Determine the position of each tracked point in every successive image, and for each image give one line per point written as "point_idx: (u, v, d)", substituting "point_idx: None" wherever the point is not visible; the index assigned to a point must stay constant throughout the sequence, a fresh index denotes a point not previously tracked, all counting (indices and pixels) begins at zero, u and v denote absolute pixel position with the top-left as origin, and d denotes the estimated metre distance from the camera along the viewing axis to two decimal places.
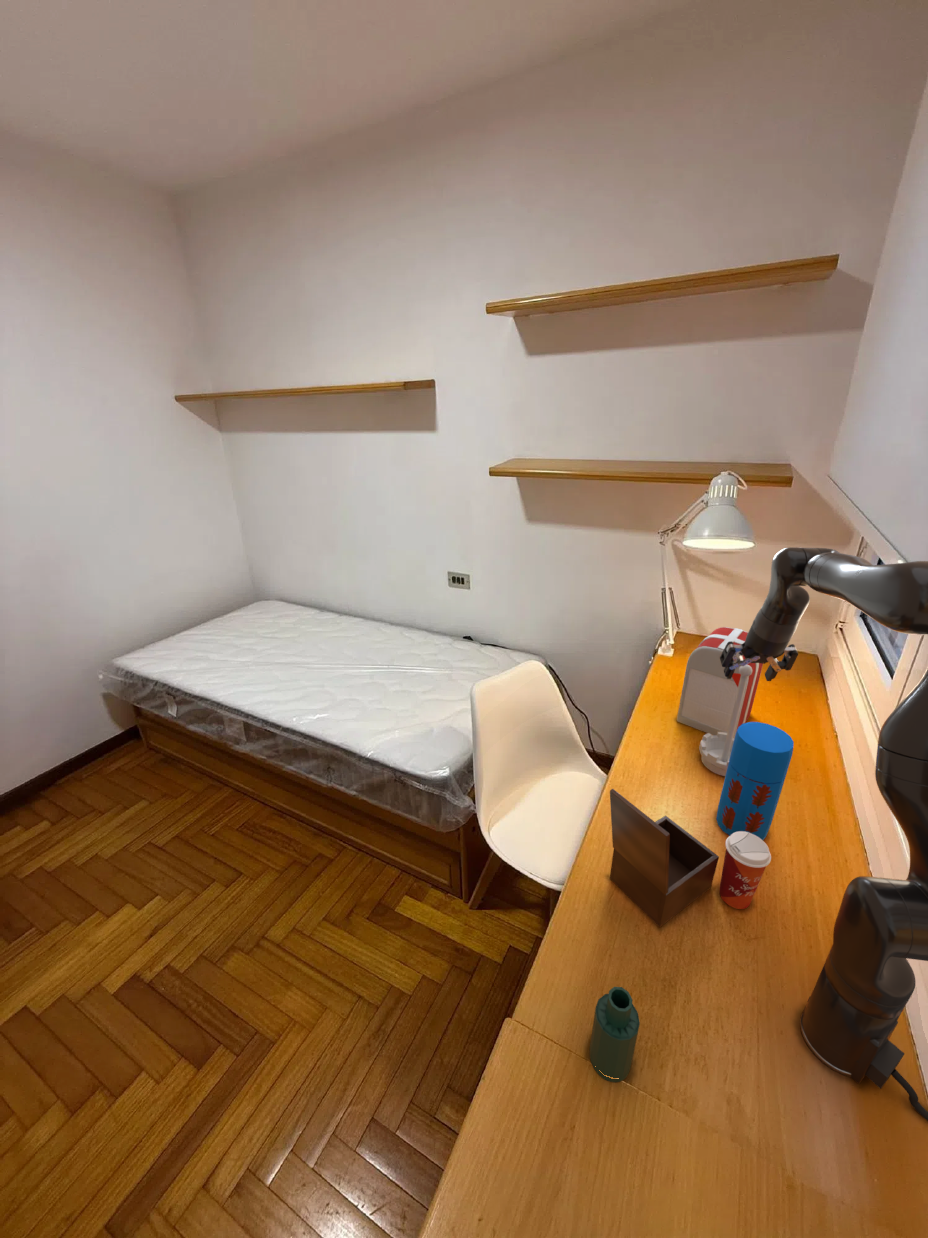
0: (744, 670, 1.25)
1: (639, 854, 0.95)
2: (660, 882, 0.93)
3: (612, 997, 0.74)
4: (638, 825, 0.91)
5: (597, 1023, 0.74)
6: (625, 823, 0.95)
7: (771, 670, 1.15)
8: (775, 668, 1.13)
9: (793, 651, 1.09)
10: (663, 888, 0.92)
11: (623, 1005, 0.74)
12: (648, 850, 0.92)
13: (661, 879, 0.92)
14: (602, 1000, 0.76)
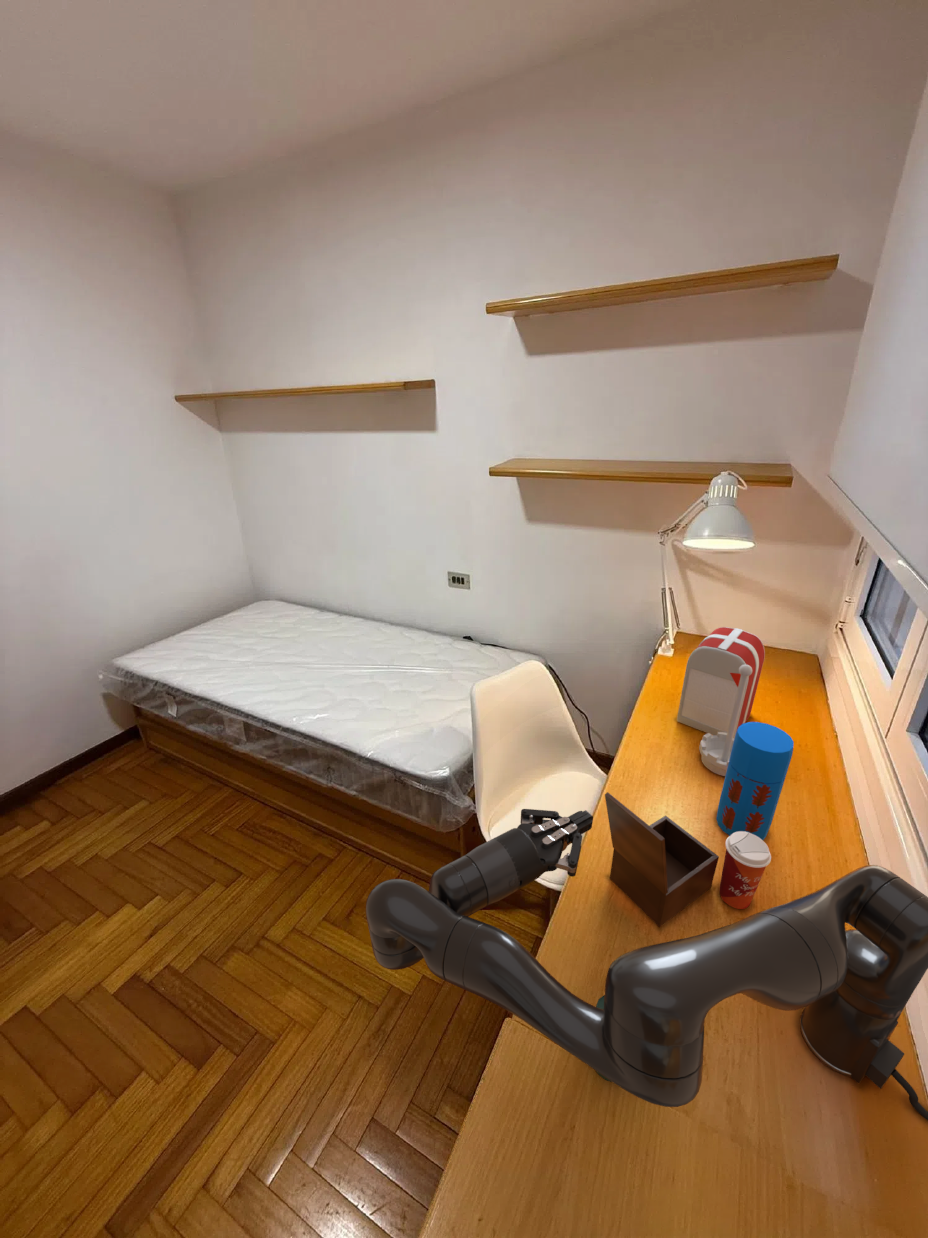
0: (744, 670, 1.25)
1: (637, 855, 0.95)
2: (659, 883, 0.92)
3: None
4: (634, 828, 0.91)
5: None
6: (622, 826, 0.94)
7: None
8: None
9: (568, 873, 0.74)
10: (663, 889, 0.92)
11: None
12: (645, 852, 0.91)
13: (660, 880, 0.92)
14: (602, 1000, 0.76)
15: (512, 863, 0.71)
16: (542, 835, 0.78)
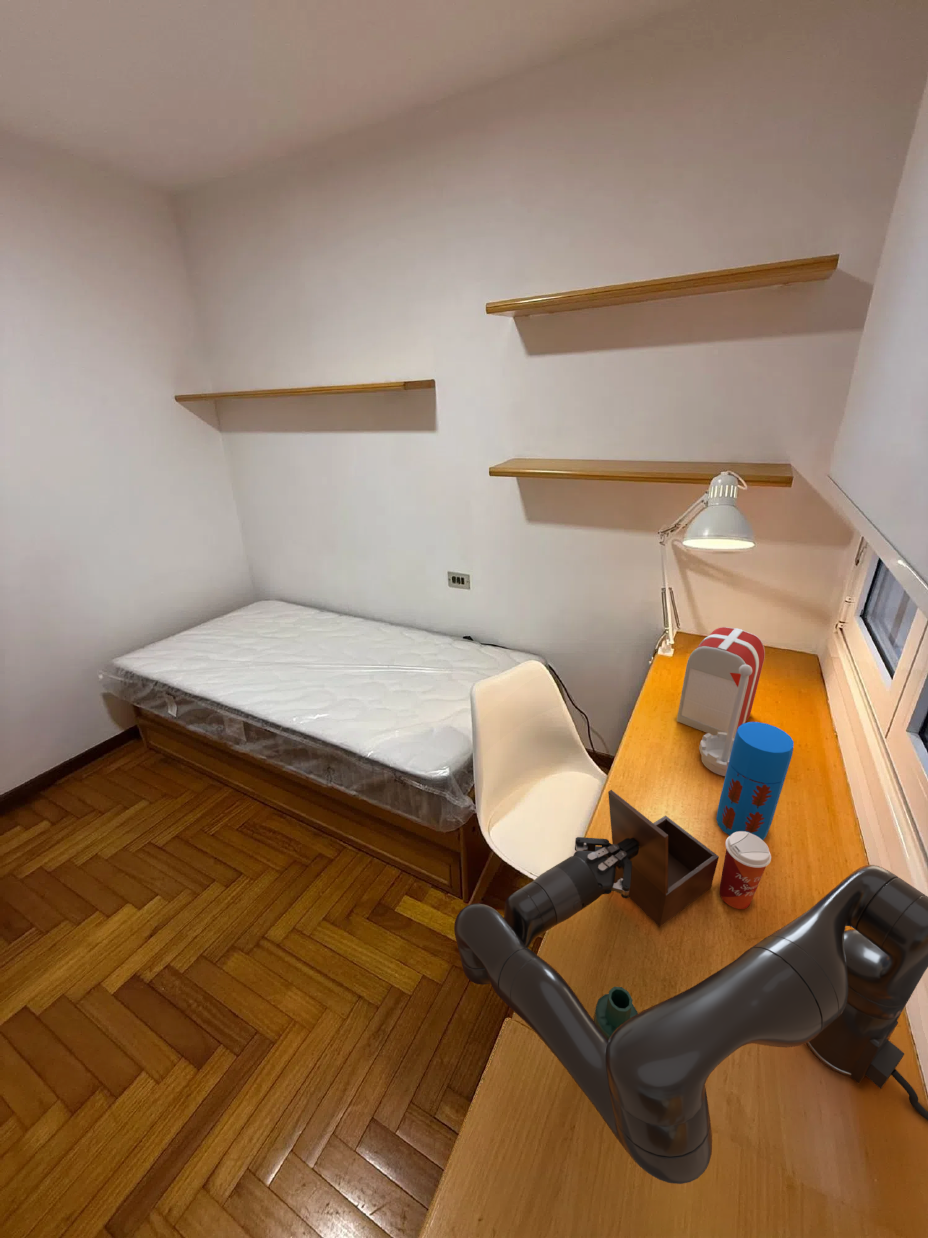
0: (744, 670, 1.25)
1: (639, 854, 0.95)
2: (660, 882, 0.92)
3: (612, 997, 0.74)
4: (637, 826, 0.91)
5: (597, 1023, 0.74)
6: (624, 824, 0.94)
7: None
8: None
9: (622, 895, 0.85)
10: (663, 888, 0.92)
11: (623, 1005, 0.74)
12: (647, 851, 0.91)
13: (660, 880, 0.92)
14: (602, 1000, 0.76)
15: (575, 888, 0.83)
16: (597, 862, 0.89)
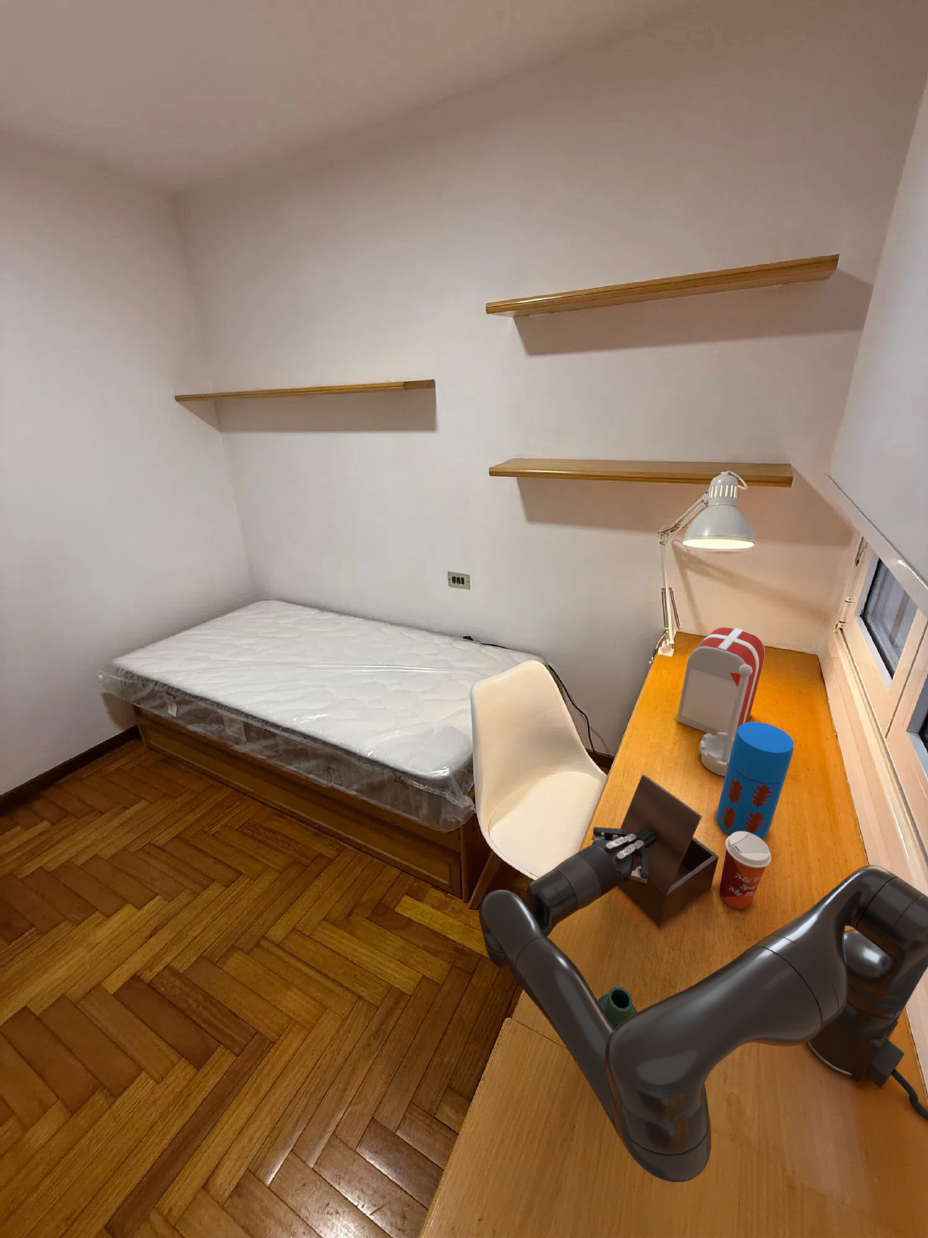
0: (744, 670, 1.25)
1: (649, 847, 0.96)
2: (665, 878, 0.93)
3: (612, 997, 0.74)
4: (665, 810, 0.94)
5: None
6: (646, 811, 0.97)
7: None
8: None
9: (641, 883, 0.87)
10: (666, 885, 0.93)
11: (623, 1005, 0.74)
12: (665, 839, 0.94)
13: (668, 874, 0.93)
14: (602, 1000, 0.76)
15: (595, 876, 0.85)
16: (615, 851, 0.91)
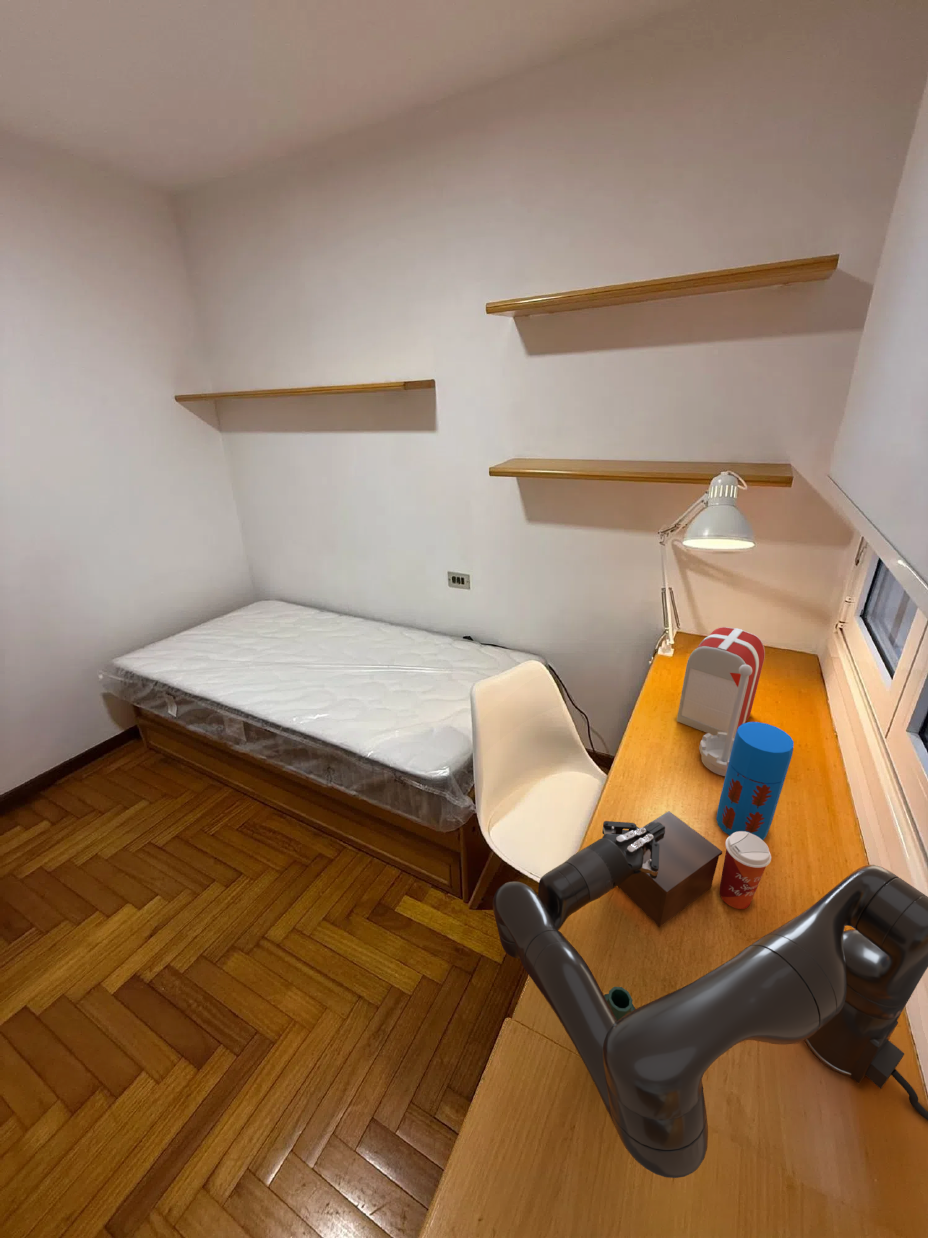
0: (744, 670, 1.25)
1: (660, 856, 1.00)
2: (671, 881, 0.95)
3: (612, 997, 0.74)
4: (686, 838, 1.04)
5: None
6: (665, 833, 1.05)
7: None
8: None
9: (651, 875, 0.89)
10: (671, 886, 0.94)
11: (623, 1005, 0.74)
12: (680, 856, 1.00)
13: (675, 879, 0.95)
14: None
15: (607, 868, 0.86)
16: (625, 844, 0.92)
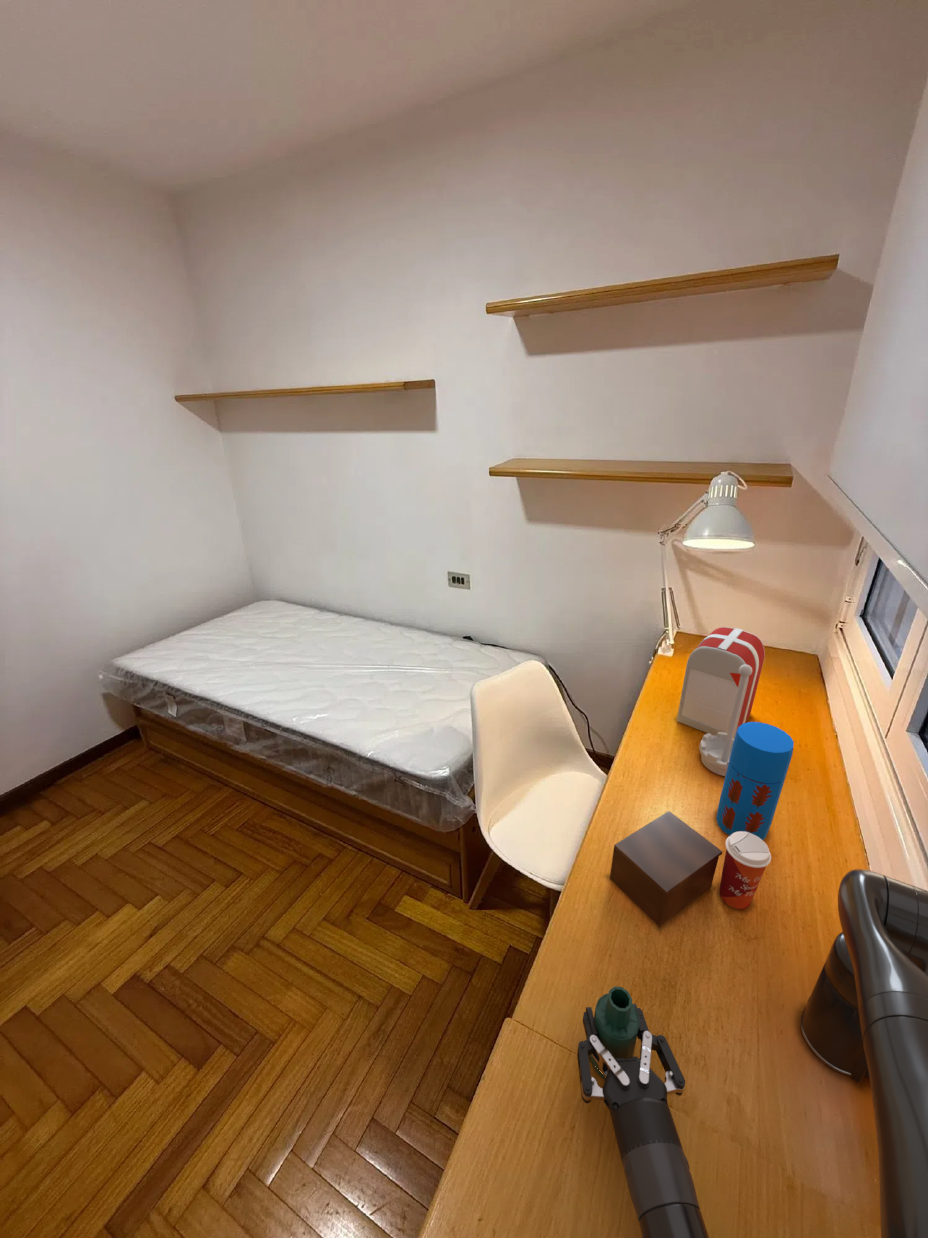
0: (744, 670, 1.25)
1: (660, 856, 1.00)
2: (671, 881, 0.95)
3: (612, 997, 0.74)
4: (686, 838, 1.04)
5: (597, 1023, 0.74)
6: (665, 833, 1.05)
7: None
8: None
9: (678, 1093, 0.69)
10: (671, 886, 0.94)
11: (623, 1005, 0.74)
12: (680, 856, 1.00)
13: (675, 879, 0.95)
14: (602, 1000, 0.76)
15: (676, 1146, 0.61)
16: (629, 1076, 0.69)
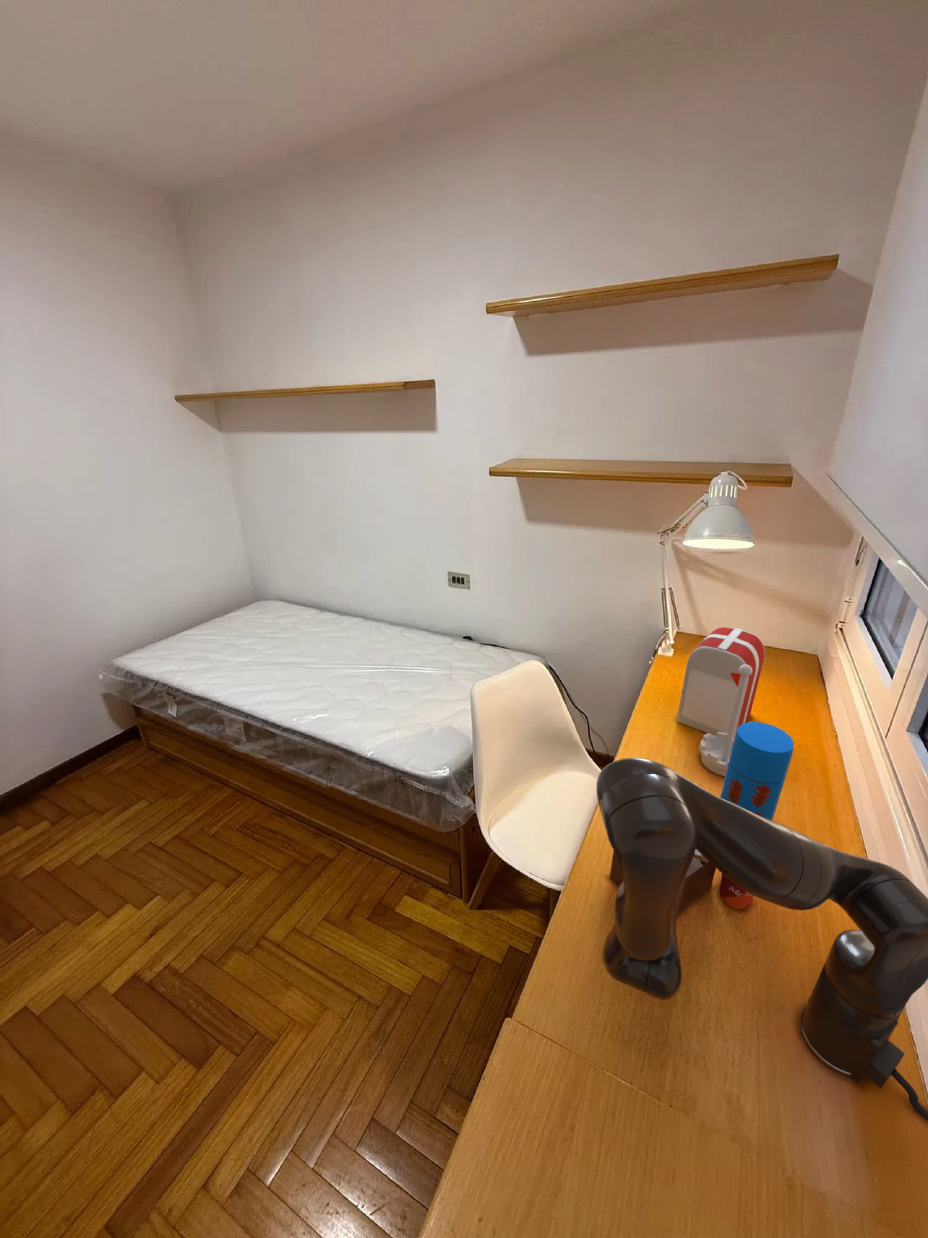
0: (744, 670, 1.25)
1: None
2: None
3: None
4: None
5: None
6: None
7: None
8: None
9: (701, 862, 0.89)
10: None
11: None
12: None
13: None
14: None
15: None
16: None
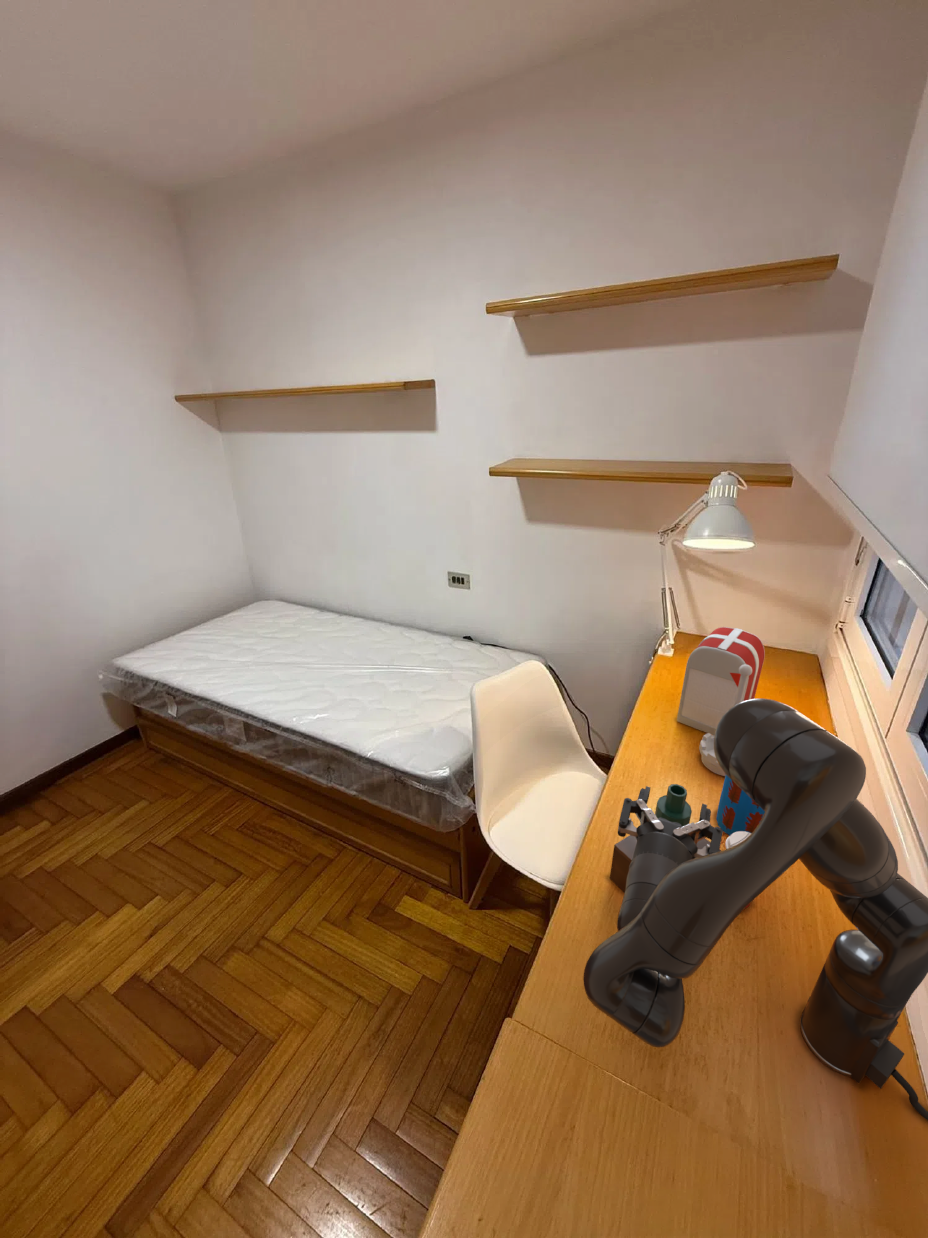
0: (744, 670, 1.25)
1: None
2: None
3: (673, 791, 0.97)
4: None
5: (656, 805, 0.98)
6: None
7: None
8: None
9: None
10: None
11: None
12: None
13: None
14: None
15: None
16: (665, 829, 0.76)
